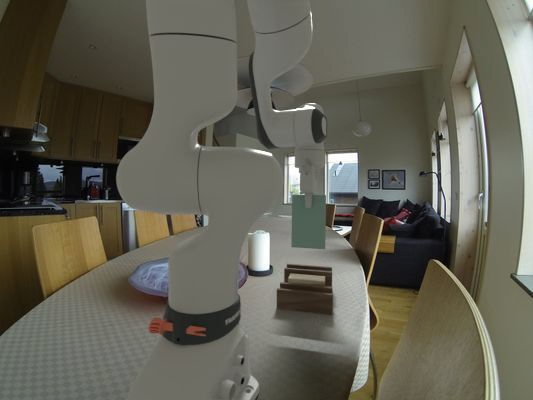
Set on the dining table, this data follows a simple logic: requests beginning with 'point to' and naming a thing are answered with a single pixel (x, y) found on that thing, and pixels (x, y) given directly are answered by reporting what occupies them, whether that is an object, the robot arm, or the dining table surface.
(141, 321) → the dining table surface
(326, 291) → the rack
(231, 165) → the robot arm
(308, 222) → the panel
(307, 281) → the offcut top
